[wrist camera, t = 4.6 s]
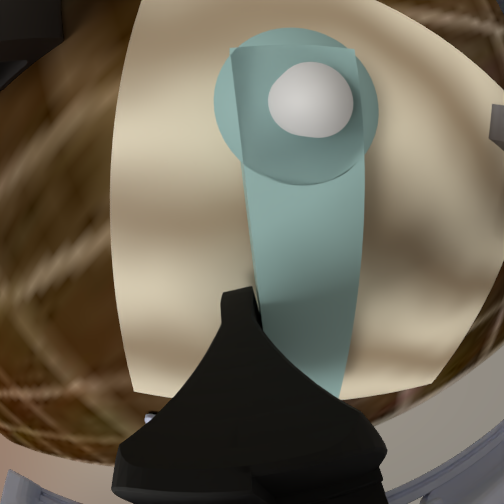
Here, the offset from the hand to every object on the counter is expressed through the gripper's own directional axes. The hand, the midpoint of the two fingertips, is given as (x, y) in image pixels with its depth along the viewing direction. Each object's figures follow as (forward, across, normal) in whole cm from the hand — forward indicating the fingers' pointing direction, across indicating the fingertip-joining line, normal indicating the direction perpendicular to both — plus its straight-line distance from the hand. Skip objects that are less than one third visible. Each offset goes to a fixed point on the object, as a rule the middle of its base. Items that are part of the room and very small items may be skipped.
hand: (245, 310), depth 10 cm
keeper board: (+2, -6, 0) cm, 6 cm away
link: (+1, -2, -1) cm, 2 cm away
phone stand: (+2, +9, -16) cm, 18 cm away
